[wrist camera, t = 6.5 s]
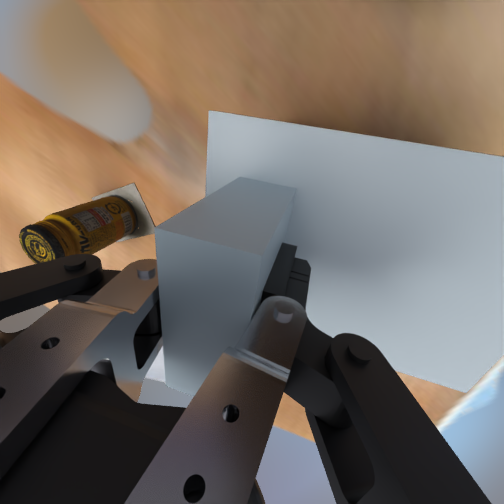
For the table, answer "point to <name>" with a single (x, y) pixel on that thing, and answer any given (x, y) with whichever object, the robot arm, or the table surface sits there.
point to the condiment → (88, 226)
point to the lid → (339, 247)
